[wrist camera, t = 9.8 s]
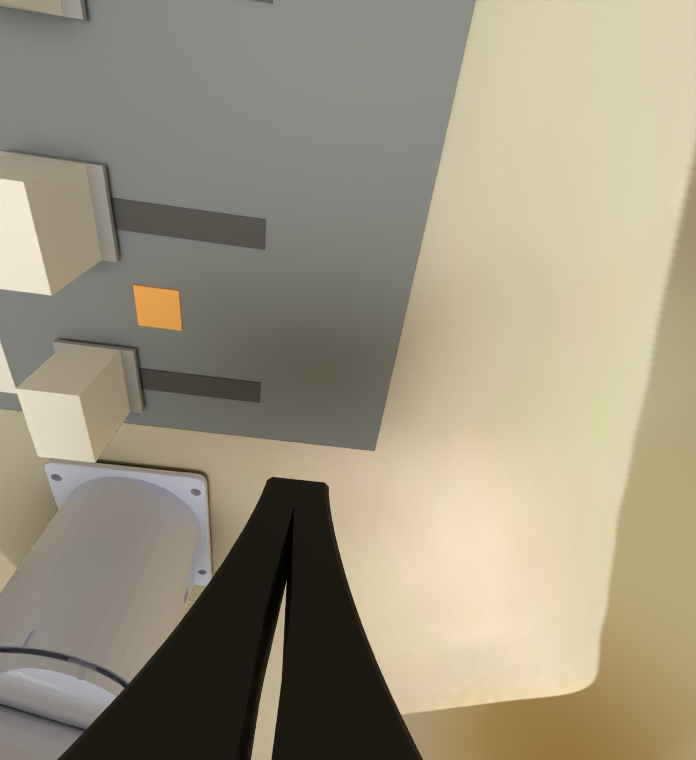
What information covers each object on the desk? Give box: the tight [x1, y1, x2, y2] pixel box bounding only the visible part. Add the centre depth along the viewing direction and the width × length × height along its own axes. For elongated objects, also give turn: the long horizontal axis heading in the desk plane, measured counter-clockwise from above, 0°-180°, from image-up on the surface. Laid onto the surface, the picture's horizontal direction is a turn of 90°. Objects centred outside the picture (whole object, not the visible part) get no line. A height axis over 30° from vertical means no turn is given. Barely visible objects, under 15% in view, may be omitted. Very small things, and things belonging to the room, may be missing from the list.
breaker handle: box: [15, 339, 144, 463], centre depth 17 cm, size 3×3×3 cm
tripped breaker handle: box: [0, 150, 119, 295], centre depth 13 cm, size 3×3×3 cm
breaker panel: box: [0, 0, 476, 451], centre depth 15 cm, size 18×18×2 cm
